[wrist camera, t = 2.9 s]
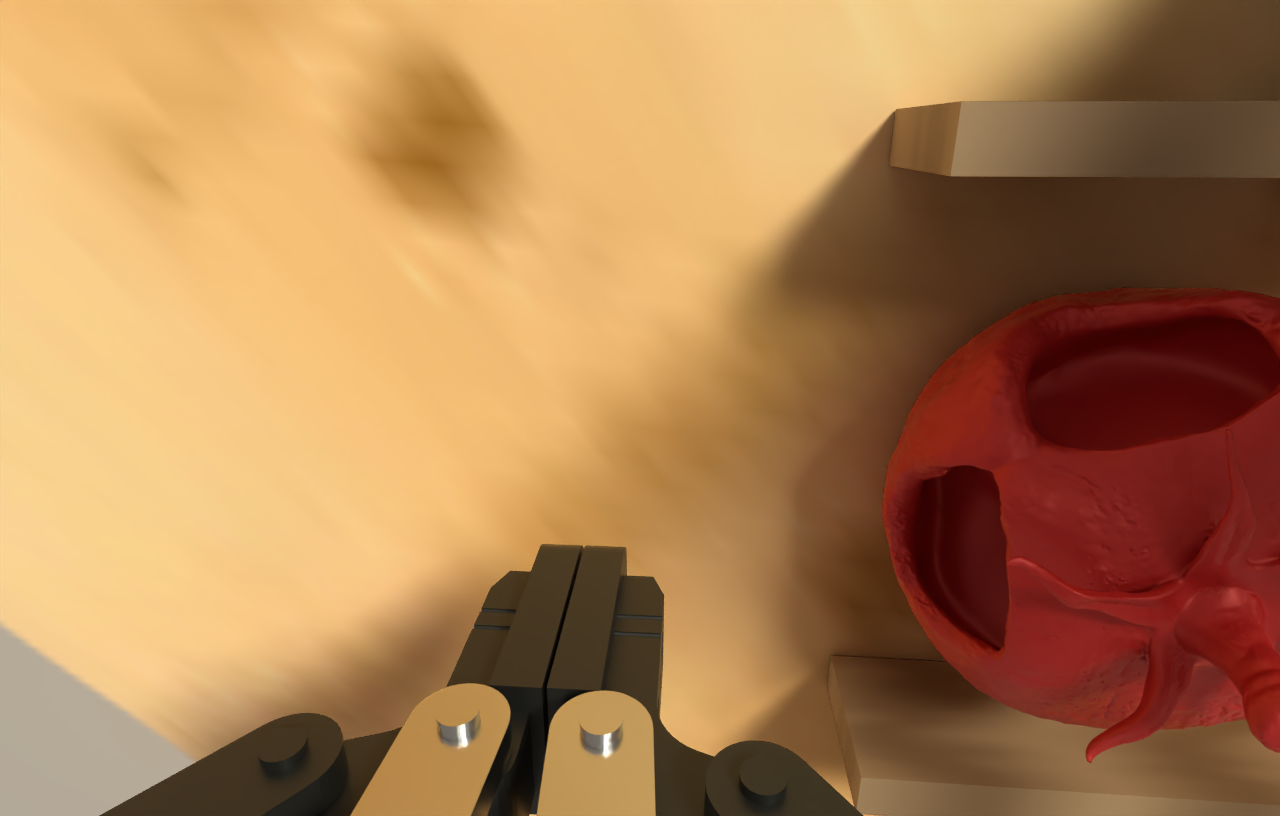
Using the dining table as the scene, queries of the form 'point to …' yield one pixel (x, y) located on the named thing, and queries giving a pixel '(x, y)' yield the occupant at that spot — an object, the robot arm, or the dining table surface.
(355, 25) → the dining table surface
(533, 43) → the dining table surface
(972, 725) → the brown wooden open box
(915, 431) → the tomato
